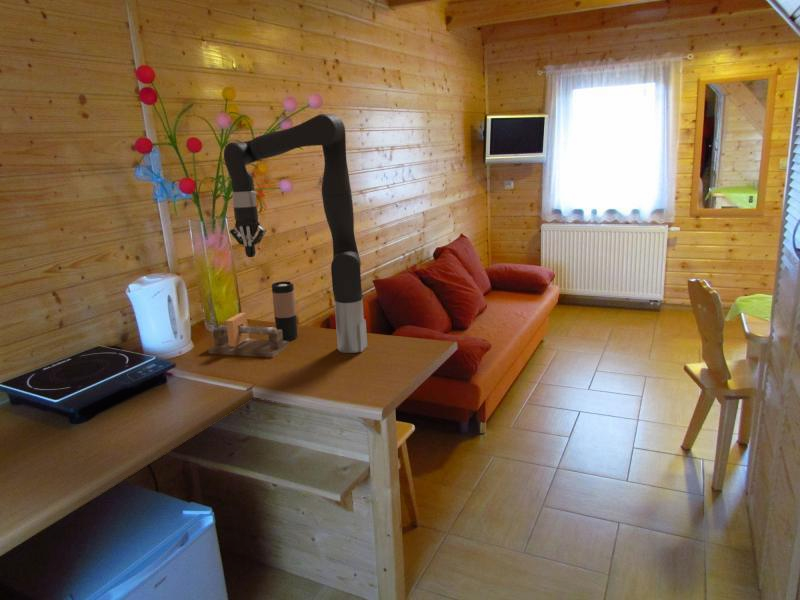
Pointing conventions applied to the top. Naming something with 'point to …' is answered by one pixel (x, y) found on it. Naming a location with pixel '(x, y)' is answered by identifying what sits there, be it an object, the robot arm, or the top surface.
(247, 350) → the rod stand
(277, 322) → the travel mug
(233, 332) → the light wood square slab
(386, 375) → the top surface
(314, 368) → the top surface
